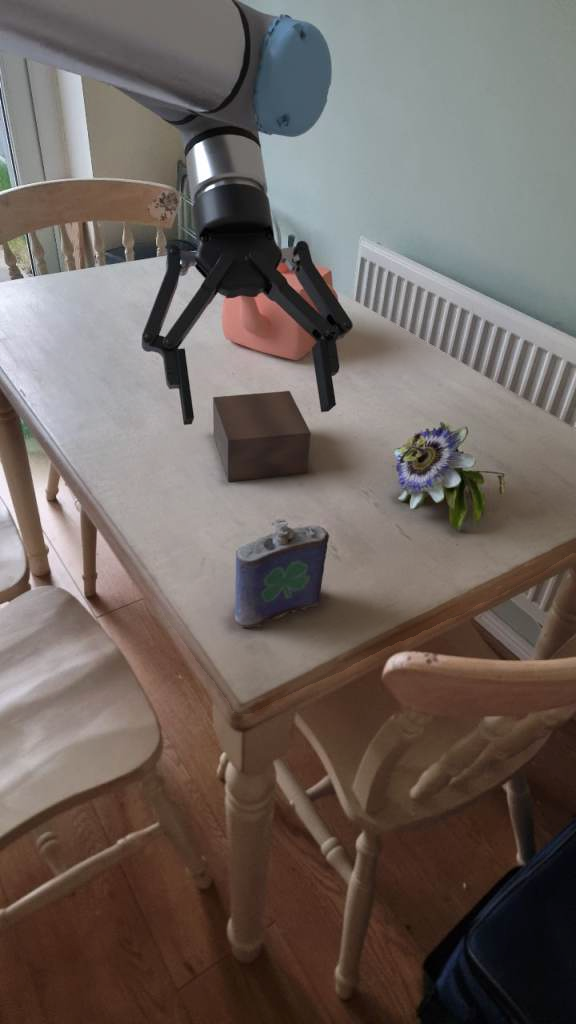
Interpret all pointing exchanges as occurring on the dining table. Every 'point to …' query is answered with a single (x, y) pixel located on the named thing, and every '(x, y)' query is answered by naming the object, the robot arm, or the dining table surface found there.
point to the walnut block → (260, 435)
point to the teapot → (270, 320)
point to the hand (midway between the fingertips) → (260, 415)
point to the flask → (279, 573)
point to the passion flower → (441, 473)
